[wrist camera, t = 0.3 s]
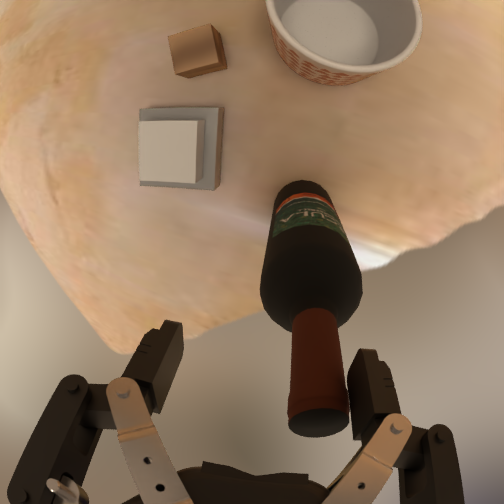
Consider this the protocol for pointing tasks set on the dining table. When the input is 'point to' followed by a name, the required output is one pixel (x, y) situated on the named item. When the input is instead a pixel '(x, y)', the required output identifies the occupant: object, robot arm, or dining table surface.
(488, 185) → the dining table surface
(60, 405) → the robot arm
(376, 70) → the vase
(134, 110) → the dining table surface
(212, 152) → the plinth
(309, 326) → the wine bottle
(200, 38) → the walnut block
